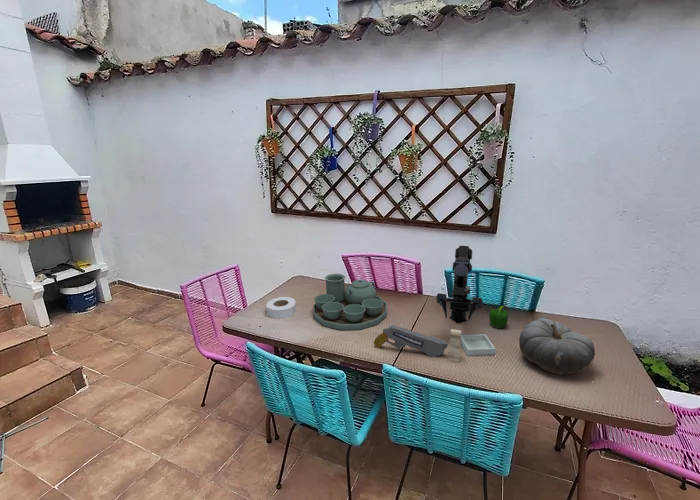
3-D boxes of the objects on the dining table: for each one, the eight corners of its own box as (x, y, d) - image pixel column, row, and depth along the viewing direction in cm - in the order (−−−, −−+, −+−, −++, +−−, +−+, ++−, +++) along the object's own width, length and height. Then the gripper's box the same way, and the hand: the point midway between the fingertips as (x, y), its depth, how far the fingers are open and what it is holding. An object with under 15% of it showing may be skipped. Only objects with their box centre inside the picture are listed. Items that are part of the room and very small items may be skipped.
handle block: (449, 354, 144) (451, 329, 140) (459, 356, 142) (461, 330, 139) (448, 359, 140) (450, 334, 136) (458, 361, 139) (460, 335, 135)
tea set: (300, 324, 172) (297, 294, 168) (331, 293, 208) (330, 268, 203) (375, 337, 159) (375, 305, 154) (395, 301, 194) (395, 274, 190)
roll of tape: (291, 319, 177) (290, 310, 176) (262, 318, 180) (261, 308, 178) (300, 306, 192) (299, 297, 190) (273, 305, 194) (272, 296, 193)
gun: (431, 376, 145) (448, 346, 139) (371, 347, 149) (385, 316, 143) (431, 371, 149) (448, 341, 142) (373, 342, 153) (387, 312, 146)
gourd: (528, 331, 154) (539, 300, 146) (591, 361, 139) (607, 328, 131) (506, 361, 138) (516, 327, 130) (575, 398, 123) (591, 363, 115)
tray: (458, 340, 153) (459, 334, 152) (484, 340, 153) (485, 334, 152) (467, 355, 142) (467, 349, 141) (495, 355, 142) (495, 348, 141)
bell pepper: (496, 331, 160) (498, 312, 157) (485, 323, 168) (487, 304, 165) (511, 328, 162) (513, 309, 159) (499, 320, 170) (501, 302, 167)
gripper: (437, 276, 148) (433, 310, 141) (483, 280, 141) (481, 316, 135) (438, 286, 157) (435, 318, 150) (482, 290, 151) (480, 324, 144)
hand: (457, 319), depth 144 cm, fingers open, 9 cm apart
